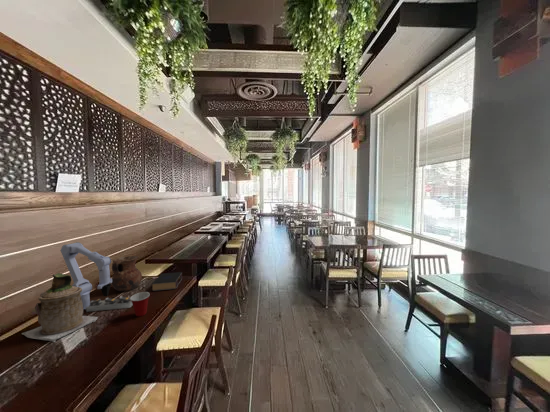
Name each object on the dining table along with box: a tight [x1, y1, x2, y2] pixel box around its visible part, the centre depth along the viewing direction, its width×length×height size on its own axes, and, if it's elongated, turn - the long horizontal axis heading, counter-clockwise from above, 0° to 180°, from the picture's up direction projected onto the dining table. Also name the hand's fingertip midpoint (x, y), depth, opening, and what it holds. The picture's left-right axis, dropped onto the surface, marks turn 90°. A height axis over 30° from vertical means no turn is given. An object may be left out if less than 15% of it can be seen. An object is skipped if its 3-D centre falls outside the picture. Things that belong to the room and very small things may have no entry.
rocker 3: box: [118, 295, 130, 301], centre depth 161 cm, size 5×3×2 cm, turn 100°
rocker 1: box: [90, 298, 102, 305], centre depth 158 cm, size 5×3×2 cm, turn 100°
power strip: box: [85, 297, 133, 313], centre depth 161 cm, size 26×8×5 cm, turn 100°
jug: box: [111, 255, 143, 292], centre depth 195 cm, size 22×21×25 cm
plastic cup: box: [129, 291, 151, 317], centre depth 149 cm, size 11×11×12 cm
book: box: [152, 271, 183, 292], centre depth 200 cm, size 17×25×7 cm
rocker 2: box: [104, 296, 117, 303], centre depth 160 cm, size 5×3×2 cm, turn 100°
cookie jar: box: [21, 273, 98, 343], centre depth 136 cm, size 25×25×32 cm
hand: (105, 295), depth 159 cm, fingers closed
